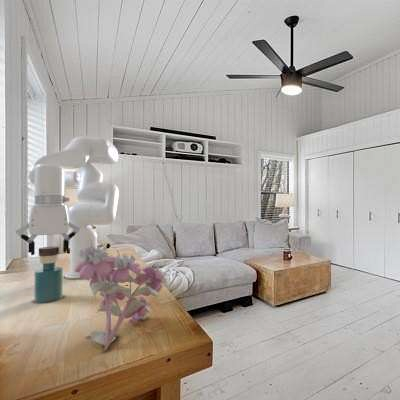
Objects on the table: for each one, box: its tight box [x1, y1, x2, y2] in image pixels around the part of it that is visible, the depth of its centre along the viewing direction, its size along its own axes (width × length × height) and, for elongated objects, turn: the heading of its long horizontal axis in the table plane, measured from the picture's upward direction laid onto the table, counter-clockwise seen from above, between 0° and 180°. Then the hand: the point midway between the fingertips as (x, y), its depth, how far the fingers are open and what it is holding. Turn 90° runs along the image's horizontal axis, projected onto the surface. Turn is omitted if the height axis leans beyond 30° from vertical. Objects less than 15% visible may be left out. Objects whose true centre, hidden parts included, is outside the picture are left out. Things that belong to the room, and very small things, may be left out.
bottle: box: [33, 254, 64, 304], centre depth 99 cm, size 7×7×15 cm
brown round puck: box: [38, 246, 60, 257], centre depth 98 cm, size 5×5×2 cm
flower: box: [75, 243, 168, 351], centre depth 76 cm, size 20×22×25 cm
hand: (49, 252), depth 99 cm, fingers open, 7 cm apart
